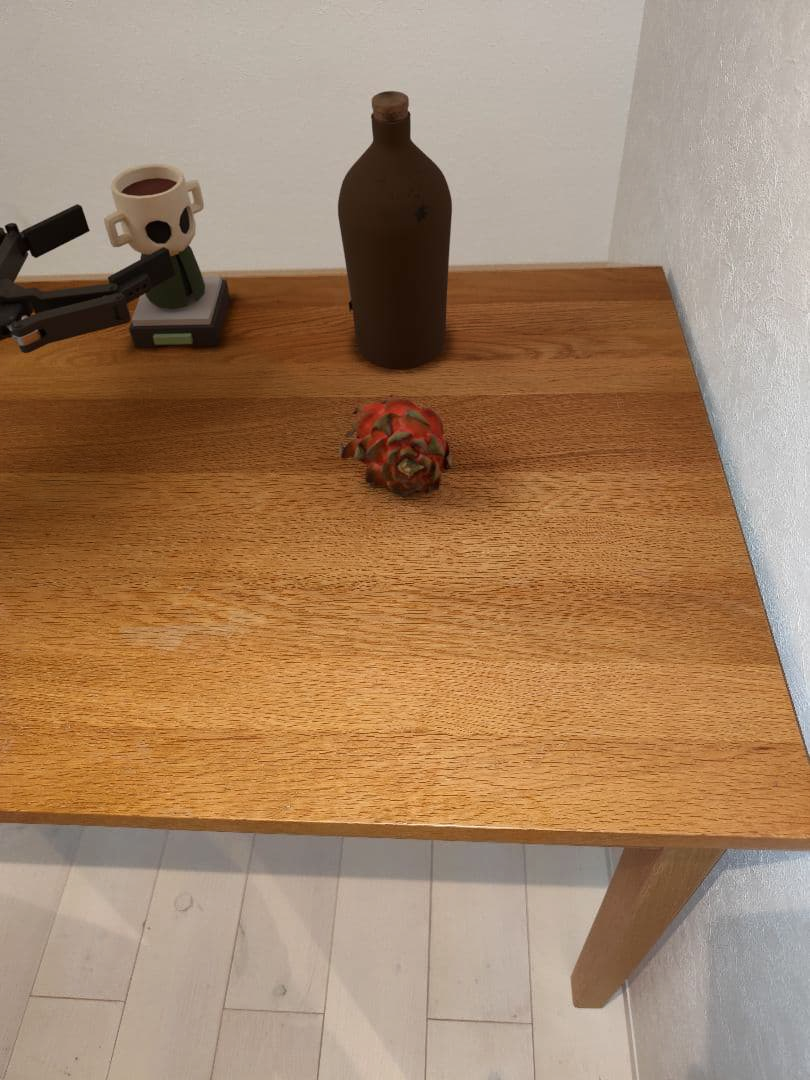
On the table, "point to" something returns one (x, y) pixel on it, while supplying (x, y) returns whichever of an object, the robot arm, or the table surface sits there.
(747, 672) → the table surface
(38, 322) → the robot arm
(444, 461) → the dragon fruit
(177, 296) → the character mug
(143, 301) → the scale
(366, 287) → the olive oil
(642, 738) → the table surface
